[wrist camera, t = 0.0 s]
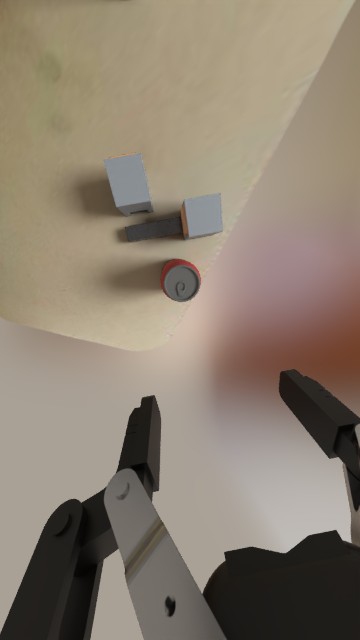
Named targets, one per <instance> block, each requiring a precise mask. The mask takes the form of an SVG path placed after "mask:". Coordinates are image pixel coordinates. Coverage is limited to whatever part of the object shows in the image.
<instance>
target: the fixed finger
mask: <svg viewBox="0 0 360 640" xmlns="http://www.w3.org/2000/svg"><path fill="white" fill-rule="evenodd" d="M180 212H181V219H182V225H183V232H184V238H185V240H189V239H194V238H200V237H205V236H211V235H214V234H216V233H219V232H222V231H223V225H222V210H221V194H220V193H217V194H212V195H206V196H201V197H195V198H190V199H184V202H183V205H182V207H181V210H180Z"/></svg>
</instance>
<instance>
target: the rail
mask: <svg viewBox="0 0 360 640" xmlns="http://www.w3.org/2000/svg"><path fill="white" fill-rule="evenodd" d="M125 229H126V233H127V237H128V241H129V242H135V241H141V240H146V239H151V238H157V237H162V236H168V235H173V234H179V233H184V232H183V225H182V219H181V217H179V218H173V219H168V220H162V221H157V222H151V223H146V224H140V225H135V226H129V227H125Z"/></svg>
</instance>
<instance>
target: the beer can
mask: <svg viewBox="0 0 360 640" xmlns="http://www.w3.org/2000/svg"><path fill="white" fill-rule="evenodd" d="M200 285H201V277H200V274H199V271H198V270H197V268H196V267H195V266H194V265H193V264H191V263H190V262H187V261H185V260H182V259H173V260H170V261H169V262H168V263H166V264H165V266H164V268H163V271H162V275H161V287H162V289H163V292H164V293H165V294H166V295H167V297H169V298H171V299H172V300H175V301H178V302H186V301H188V300H191V299H192V298H193V297H195V296H196V294H197V293H198V291H199V288H200Z"/></svg>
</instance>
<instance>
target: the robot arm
mask: <svg viewBox="0 0 360 640" xmlns="http://www.w3.org/2000/svg"><path fill="white" fill-rule="evenodd" d="M279 393H280V396H281V398H282V399H283V401H284V402H285V403H286V405H287V406H288V407H289V408H290V410H291V411H292V412H293V414H294V415H295V416H296V417H297V418H298V420H299V421H300V422H301V424H302V425H303V426H304V427H305V429H306V430H307V431H308V432H309V434H310V435H311V436H312V437H313V439H314V440H315V441H316V442H317V444H318V445H319V446H320V447H321V449H322V450H323V451H324V453H325V454H326V455H327V456H328V458H329V459H331V458H336V457H339V458H340V459H341V460H342V462H343V472H344V477H345V483H346V488H347V494H348V500H349V505H350V511H351V540H352V543H349V542H346V541H343V540H342V539H341V537H340V535H339V534H338V532H337V531H336V530H333V531H329V532H324V533H318V534H313V535H309V536H307V537H306V538H305V539H304V540H302V541H301V542H300V543H299V544H297V545H296V546H295V547H294V548H292V549H291V550H290V551H289V552H287V553H279V552H274V551H269V550H265V549H260V548H256V547H247V548H242V549H237V550H232V551H227V552H224V554H225V559H226V561H224V562H223V563H222V564H221V565H220V566H219V567H218V568H217V569H216V570H215V571H214V572H213V574H212V575H211V577H210V578H209V580H208V582H207V584H206V587H205V588H204V591H203V594H202V593H201V591H200V590H199V588H198V586H197V584H196V582H195V580H194V579H193V577H192V575H191V573H190V571H189V569H188V567H187V565H186V564H185V562H184V560H183V558H182V556H181V554H180V553H179V551H178V549H177V547H176V545H175V543H174V542H173V540H172V538H171V536H170V534H169V532H168V531H167V529H166V527H165V525H164V524H163V522H162V520H161V519H160V517H159V515H158V513H157V511H156V509H155V508H154V506H153V504H152V495H153V492H156V491H159V472H160V440H161V417H160V411H159V408H158V404H157V401H156V398H155V396H154V395H153V396H147V397H143V398H142V400H141V406H140V407H139V408H135V409H134V410H133V412H132V413H131V415H130V417H129V421H128V425H127V429H126V436H125V438H124V443H123V448H122V452H121V456H120V460H119V465H118V469H117V472H116V474H115V475H114V476H113V477H112V479H111V480H110V482H109V483H108V485H107V487H105V488H104V489H103V490H102V491H100V492H99V493H97V494H96V495H94V496H92V497H90V498H89V499H87V500H85V501H84V502H82V503H81V502H80V501H79V500H77V499H71V500H68V501H66V502H64V503H63V504H61V505H60V506H59V507H58V508H57V509H56V510H55V511H54V512H53V514H52V515H51V516H50V518H49V519H48V521H47V523H46V524H45V526H44V529H43V531H42V533H41V536H40V539H39V541H38V543H37V545H36V548H35V550H34V553H33V555H32V558H31V560H30V563H29V565H28V567H27V570H26V572H25V575H24V577H23V580H22V582H21V585H20V587H19V589H18V592H17V594H16V597H15V599H14V602H13V604H12V607H11V609H10V611H9V614H8V616H7V619H6V621H5V624H4V626H3V628H2V631H1V634H0V640H90V638H91V631H92V625H93V620H94V614H95V608H96V602H97V596H98V590H99V584H100V578H101V573H102V567H103V560H104V559H105V558H106V557H108V556H109V555H110V554H112V553H113V552H115V551H116V550H117V549H119V550H120V553H121V556H122V559H123V563H124V567H125V578H126V583H127V586H128V589H129V593H130V596H131V599H132V603H133V606H134V609H135V612H136V615H137V619H138V622H139V625H140V628H141V631H142V634H143V638H144V640H360V418H359V417H358V416H357V415H356V414H354V413H353V412H352V411H351V410H350V409H348V408H347V407H346V406H345V405H344V404H343V403H341V402H340V401H339V400H338V399H337V398H335V397H333V395H332V394H331V393H330V392H328V391H327V390H325V388H324V387H323V386H321V385H320V384H319V383H318V382H317V381H315V380H313V379H311V378H309V377H307V376H304V377H303V376H302V375H301V374H300V373H299V372H298V371H297V370H295V369H292V370H287V371H282V372H281V373H280V382H279Z"/></svg>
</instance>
